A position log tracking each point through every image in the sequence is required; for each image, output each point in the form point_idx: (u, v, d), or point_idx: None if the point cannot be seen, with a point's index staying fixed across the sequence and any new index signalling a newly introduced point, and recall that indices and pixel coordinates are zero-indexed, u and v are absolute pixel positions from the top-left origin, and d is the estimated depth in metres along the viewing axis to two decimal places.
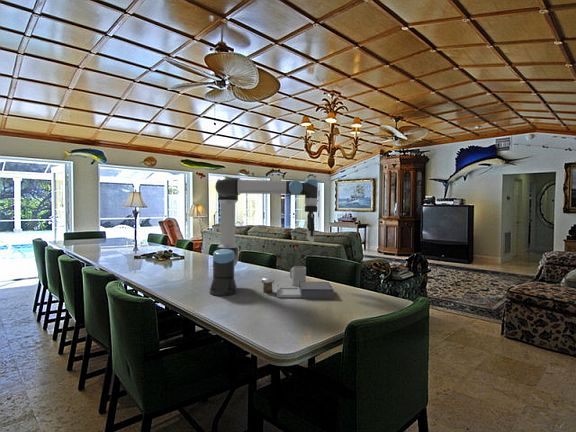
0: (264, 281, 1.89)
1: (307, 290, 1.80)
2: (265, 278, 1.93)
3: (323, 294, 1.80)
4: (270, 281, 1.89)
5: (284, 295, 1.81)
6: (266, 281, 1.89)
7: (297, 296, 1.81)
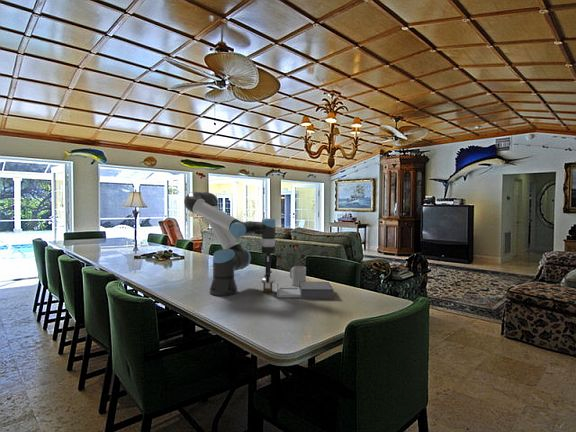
0: (264, 281, 1.89)
1: (307, 290, 1.80)
2: None
3: (323, 294, 1.80)
4: (270, 281, 1.89)
5: (284, 295, 1.81)
6: None
7: (297, 296, 1.81)
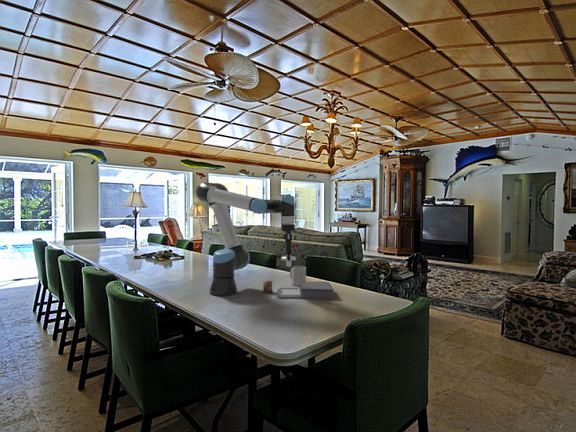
0: (285, 259, 1.85)
1: (307, 290, 1.80)
2: (285, 257, 1.89)
3: (323, 294, 1.80)
4: (291, 259, 1.85)
5: (284, 295, 1.81)
6: None
7: (297, 296, 1.81)
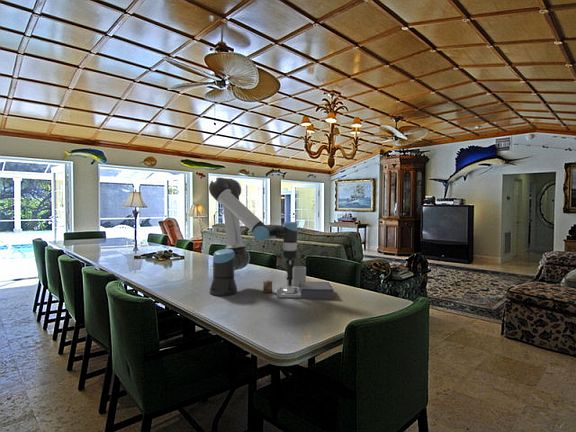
0: (286, 292, 1.85)
1: (307, 290, 1.80)
2: (286, 289, 1.89)
3: (323, 294, 1.80)
4: (292, 292, 1.85)
5: (284, 295, 1.81)
6: (288, 292, 1.85)
7: (297, 296, 1.81)
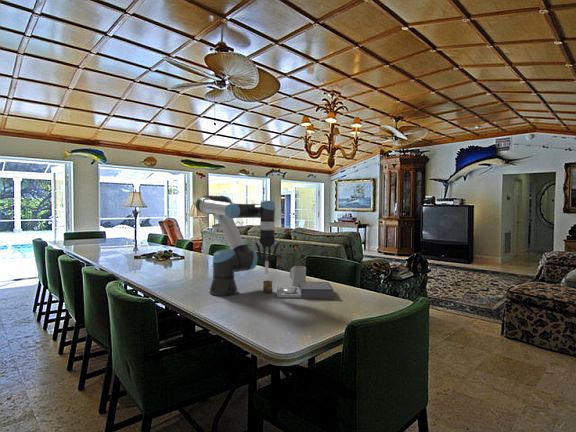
0: (285, 292, 1.85)
1: (307, 290, 1.80)
2: (286, 289, 1.89)
3: (323, 294, 1.80)
4: (291, 292, 1.85)
5: (284, 295, 1.81)
6: (287, 292, 1.85)
7: (297, 296, 1.81)
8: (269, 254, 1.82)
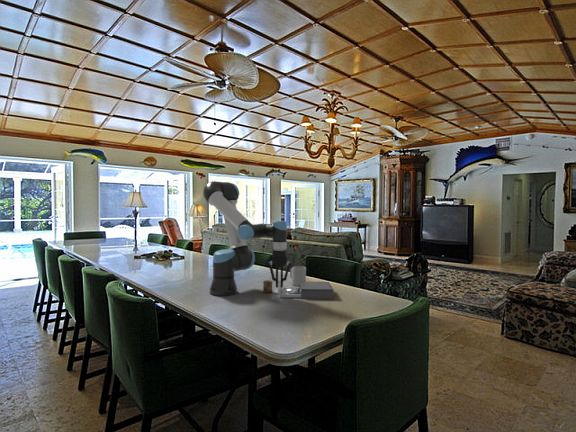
0: (288, 292, 1.86)
1: (307, 290, 1.80)
2: (290, 288, 1.89)
3: (323, 294, 1.80)
4: (294, 292, 1.85)
5: (288, 295, 1.81)
6: (290, 292, 1.85)
7: None
8: (281, 274, 1.82)
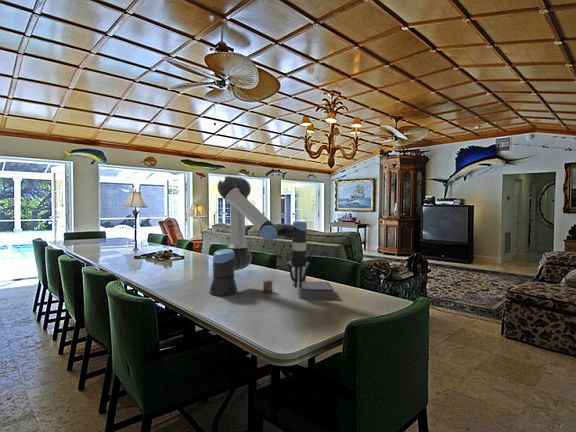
0: None
1: (307, 290, 1.80)
2: None
3: (323, 294, 1.80)
4: None
5: None
6: None
7: None
8: (300, 275, 1.82)
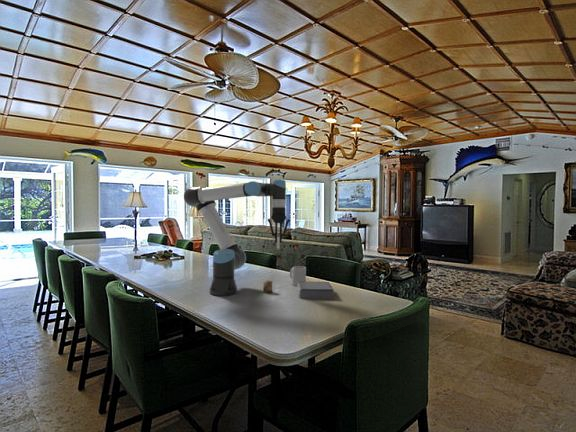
0: None
1: (307, 290, 1.80)
2: None
3: (323, 294, 1.80)
4: None
5: None
6: None
7: None
8: (280, 230, 1.93)
